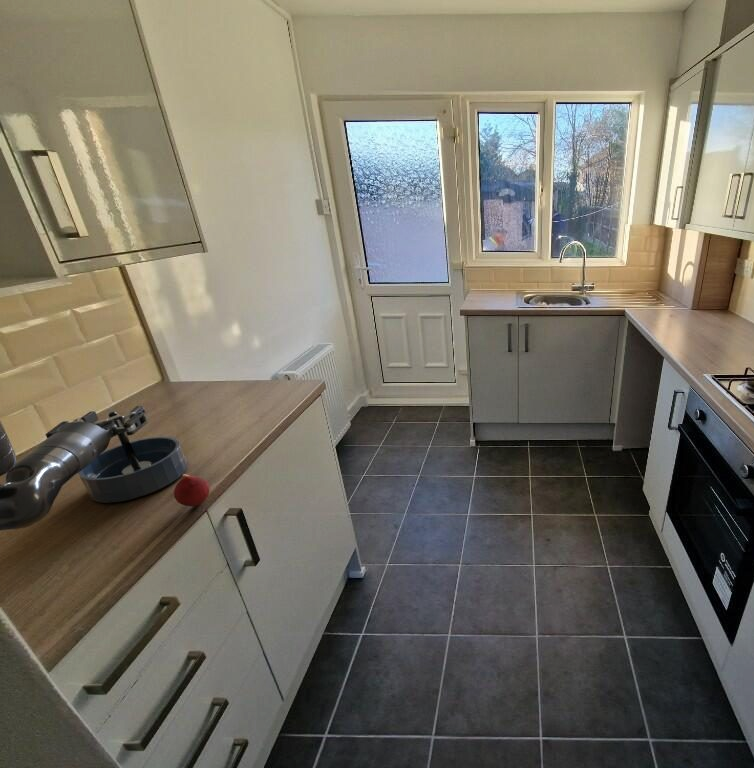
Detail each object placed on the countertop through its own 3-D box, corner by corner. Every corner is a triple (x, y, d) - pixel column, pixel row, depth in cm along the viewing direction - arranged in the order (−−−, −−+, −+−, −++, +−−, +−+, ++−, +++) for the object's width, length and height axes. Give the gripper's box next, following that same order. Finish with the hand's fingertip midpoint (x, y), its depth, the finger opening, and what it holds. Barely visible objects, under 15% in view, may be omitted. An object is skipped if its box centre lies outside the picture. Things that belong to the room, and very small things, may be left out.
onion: (215, 493, 91) (204, 463, 88) (212, 508, 86) (200, 477, 83) (182, 502, 88) (170, 471, 85) (178, 518, 84) (164, 486, 81)
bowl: (85, 516, 85) (71, 490, 82) (97, 476, 98) (85, 452, 95) (189, 484, 94) (179, 460, 92) (187, 451, 107) (179, 429, 105)
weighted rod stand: (125, 488, 92) (93, 420, 86) (127, 477, 96) (97, 411, 89) (155, 479, 95) (126, 412, 88) (156, 469, 99) (128, 404, 92)
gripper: (108, 426, 77) (150, 392, 91) (11, 438, 73) (71, 401, 88) (124, 460, 80) (162, 422, 94) (31, 474, 76) (85, 432, 91)
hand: (118, 412), depth 91 cm, fingers open, 8 cm apart
